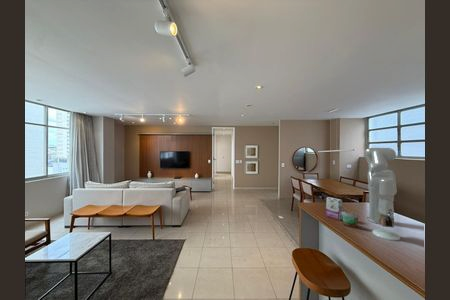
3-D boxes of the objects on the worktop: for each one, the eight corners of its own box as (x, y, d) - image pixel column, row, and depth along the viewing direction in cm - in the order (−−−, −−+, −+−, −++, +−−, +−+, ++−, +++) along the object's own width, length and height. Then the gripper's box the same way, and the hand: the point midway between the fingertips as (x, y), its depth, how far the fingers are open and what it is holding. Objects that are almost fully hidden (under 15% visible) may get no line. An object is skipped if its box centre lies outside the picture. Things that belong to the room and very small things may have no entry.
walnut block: (378, 223, 131) (378, 214, 131) (389, 224, 129) (389, 215, 129) (383, 226, 125) (383, 217, 125) (394, 227, 123) (394, 218, 123)
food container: (337, 223, 148) (337, 210, 148) (342, 222, 150) (343, 209, 150) (353, 229, 136) (353, 215, 136) (359, 228, 139) (359, 214, 139)
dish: (369, 229, 136) (369, 228, 136) (392, 232, 132) (392, 230, 132) (378, 238, 123) (378, 236, 123) (405, 242, 119) (405, 240, 119)
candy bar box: (342, 219, 156) (342, 199, 156) (338, 220, 153) (339, 200, 153) (329, 215, 165) (329, 196, 165) (325, 216, 163) (325, 197, 163)
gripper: (373, 194, 136) (373, 219, 136) (386, 200, 120) (386, 228, 120) (386, 194, 134) (386, 220, 134) (400, 201, 118) (400, 230, 118)
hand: (386, 223), depth 127 cm, fingers closed on walnut block, 6 cm apart
